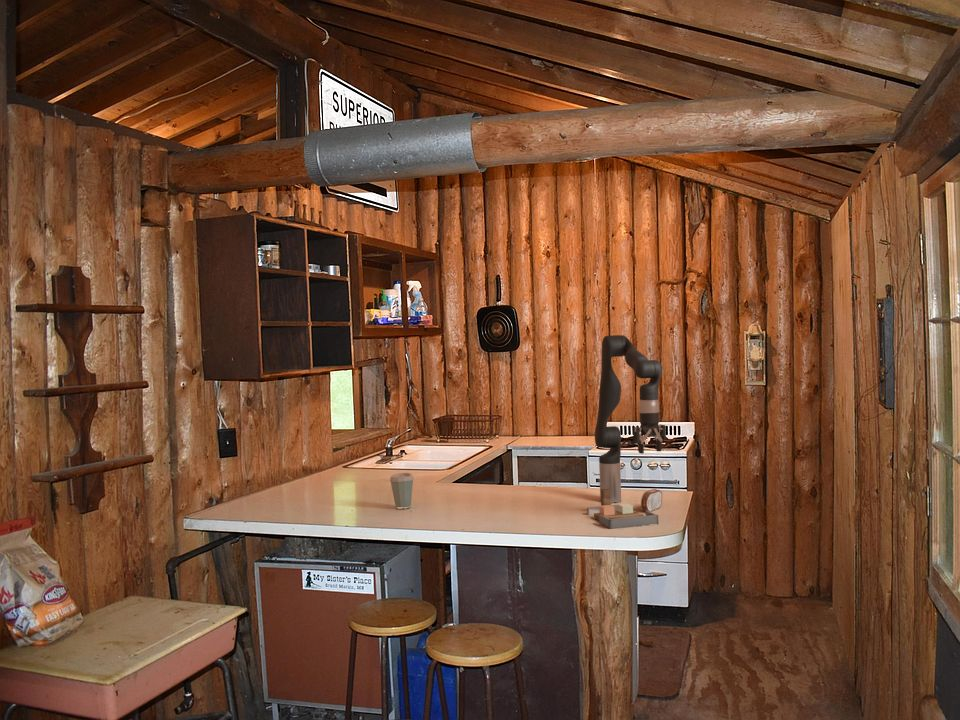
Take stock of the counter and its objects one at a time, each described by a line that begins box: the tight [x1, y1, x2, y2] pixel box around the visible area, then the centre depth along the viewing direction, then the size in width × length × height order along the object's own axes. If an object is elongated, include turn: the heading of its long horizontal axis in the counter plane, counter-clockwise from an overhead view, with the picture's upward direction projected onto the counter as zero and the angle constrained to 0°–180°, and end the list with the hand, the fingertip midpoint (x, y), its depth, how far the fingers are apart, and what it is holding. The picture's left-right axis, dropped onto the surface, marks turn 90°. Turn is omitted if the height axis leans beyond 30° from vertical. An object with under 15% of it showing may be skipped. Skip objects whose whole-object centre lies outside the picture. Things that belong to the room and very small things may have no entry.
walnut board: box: [593, 509, 645, 522], centre depth 306 cm, size 10×17×2 cm, turn 105°
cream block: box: [617, 502, 634, 514], centre depth 309 cm, size 4×4×3 cm
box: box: [599, 511, 659, 530], centre depth 297 cm, size 9×20×4 cm, turn 105°
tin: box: [640, 488, 663, 512], centre depth 320 cm, size 15×3×8 cm, turn 141°
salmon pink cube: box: [598, 504, 615, 516], centre depth 307 cm, size 4×4×3 cm
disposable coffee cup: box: [389, 472, 414, 508], centre depth 340 cm, size 11×11×15 cm
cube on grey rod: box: [586, 489, 618, 516], centre depth 317 cm, size 3×16×10 cm, turn 105°
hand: (650, 452), depth 301 cm, fingers open, 8 cm apart
